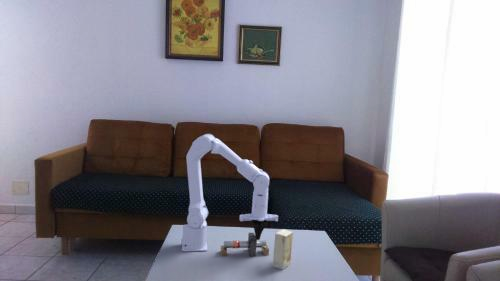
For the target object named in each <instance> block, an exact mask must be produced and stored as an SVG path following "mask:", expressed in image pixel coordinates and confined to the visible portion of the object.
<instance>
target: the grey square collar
mask: <svg viewBox="0 0 500 281" xmlns="http://www.w3.org/2000/svg"><path fill="white" fill-rule="evenodd" d="M247 237H248V238H247V241H251V247H250V248H247V251H248V254H249V256H250V257H256V256H257V248H256V244H257V241H258V240H257V239H256V237H255V232H248V236H247Z"/></svg>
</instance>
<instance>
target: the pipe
mask: <svg viewBox="0 0 500 281" xmlns="http://www.w3.org/2000/svg"><path fill="white" fill-rule="evenodd" d="M250 247H251V241H248V240H224V241H223V245H220V254H221V257H227V256H228V249H248V248H250ZM257 248H261V252H262V255H263V256H269V255H270V254H269V253H270V249H269V246H268V245H267V241H266V240H257V244H256V249H257Z"/></svg>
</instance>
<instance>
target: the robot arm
mask: <svg viewBox="0 0 500 281" xmlns="http://www.w3.org/2000/svg"><path fill="white" fill-rule="evenodd" d="M210 151H211V152H210ZM209 152H210V154H215V155H216V154H218V155H221V156H222V157H224V158H225V159H226V160H227V161H229V162H230V163H231V164H233V165H234V166H236V170H237V172H238V173H239V174H241V175H242V176H243V177H244V178H245V179H246V180H248V181H249V182H251V183H252V184H253V185H252V186H253V193H252V204H251V205H252V206H251V213H245V214H239V221H240V222H247V221H249V222H250V221H251V224H252V227H253V230H254V234H255V237H256V239H257V241H261V240H260V239H261V236H262V234H263V231H264V229H265V228H266V226H267V222H272V221H273V222H274V221H275V222H278V221H279V215H277V214H270V213H268V203H269V202H268V201H269V186H270V176H269V174H268V173H267V172H266V171H263V169H261V168H258V167H257V166H256V165H255V164H254V161H253V160H251V159H250V160H248V159H247V158H246V159H245V158H244V159H242V158H241V156H239V155H238V154H236V153H235V151H233V150H232V149H231V148H229V147H228V145H226V144H225V143H224V142H223V141H221V140H220V139H219V138H216V137H215V136H214V135H213V134H212V133H205V134H203V135H201V136H199V137H197V138H196V139H195V140H194V141H192V144H191V146H190V148H189V150H188V152H187V154H186V157H185V158H186V169H187V181H188V191H189V206H188V215H187V216H186V217H187V218H186V222H187V224H182V238H181V242H180V243H181V252H207V251H208V244H207V232H208V230H207V228H208V223H207V221H206V219H207V217H208V216H209V210H208V208H207V206H206V201H205V199H204V192H203V178H202V168H201V167H202V166H201V159H202V158H203V157H204V155H206V154H207V153H209Z"/></svg>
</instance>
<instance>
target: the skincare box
mask: <svg viewBox="0 0 500 281" xmlns="http://www.w3.org/2000/svg"><path fill="white" fill-rule="evenodd" d="M293 235H294V231H291V230H288V229H285V228H284V229H281V230H278V231H277V232H276V233H275V234H274V247H273V256H272V257H273V259H272V267H274V268H277V269H280V270H284V269H286V268H287V267H288V266H290V265H291V258H292V247H293V238H294V237H293Z"/></svg>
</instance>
